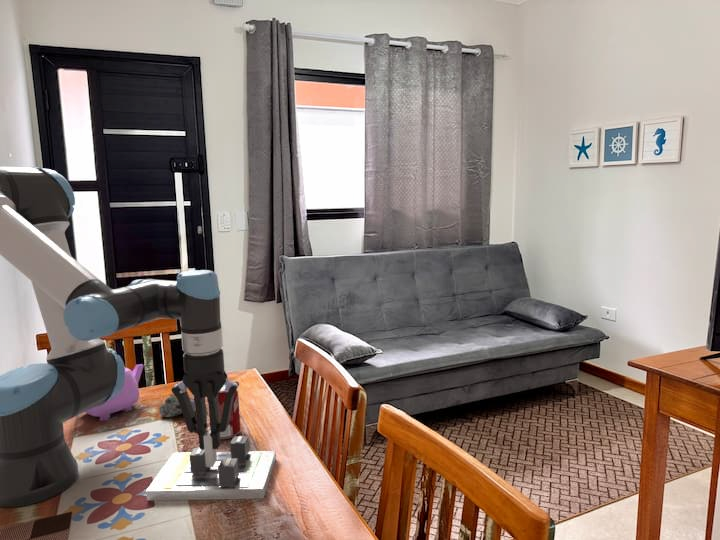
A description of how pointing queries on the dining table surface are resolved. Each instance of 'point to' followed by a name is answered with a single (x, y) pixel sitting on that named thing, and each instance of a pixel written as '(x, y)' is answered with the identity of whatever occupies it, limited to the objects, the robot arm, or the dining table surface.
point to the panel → (212, 479)
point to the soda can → (234, 417)
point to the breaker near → (228, 471)
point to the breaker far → (239, 447)
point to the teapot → (121, 396)
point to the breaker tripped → (197, 460)
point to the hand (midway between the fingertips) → (211, 463)
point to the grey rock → (173, 407)
